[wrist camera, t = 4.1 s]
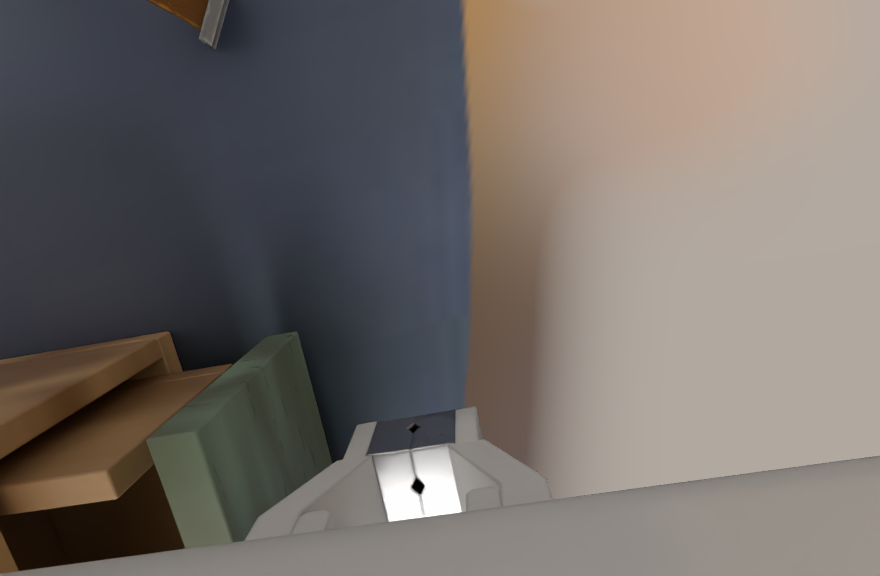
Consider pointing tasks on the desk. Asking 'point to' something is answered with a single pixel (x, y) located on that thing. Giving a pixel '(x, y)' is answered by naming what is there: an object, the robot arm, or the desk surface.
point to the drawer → (166, 462)
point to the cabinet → (70, 388)
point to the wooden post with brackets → (199, 15)
